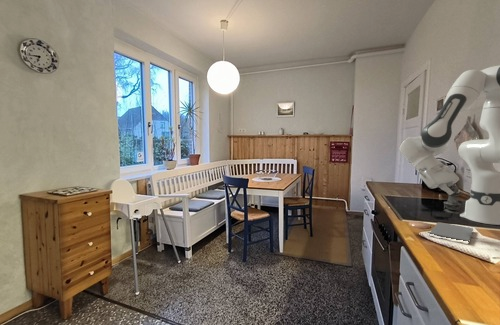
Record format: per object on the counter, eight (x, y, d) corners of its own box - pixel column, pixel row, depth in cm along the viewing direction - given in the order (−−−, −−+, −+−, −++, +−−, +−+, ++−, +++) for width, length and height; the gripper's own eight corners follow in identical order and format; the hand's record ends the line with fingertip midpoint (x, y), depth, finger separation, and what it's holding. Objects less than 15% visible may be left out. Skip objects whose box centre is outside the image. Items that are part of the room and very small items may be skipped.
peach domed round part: (411, 222, 118) (411, 220, 117) (431, 226, 112) (431, 224, 112) (406, 226, 112) (406, 224, 112) (427, 230, 106) (427, 228, 106)
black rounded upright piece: (464, 214, 97) (467, 184, 96) (448, 213, 98) (450, 184, 97) (455, 209, 103) (457, 182, 102) (439, 209, 104) (441, 181, 103)
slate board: (437, 225, 112) (437, 222, 112) (472, 231, 103) (473, 228, 103) (429, 236, 99) (429, 232, 99) (468, 244, 91) (468, 240, 90)
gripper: (422, 164, 100) (449, 191, 92) (446, 161, 110) (473, 186, 102) (410, 173, 104) (435, 200, 96) (434, 170, 114) (459, 194, 106)
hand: (455, 193), depth 99 cm, fingers closed on black rounded upright piece, 4 cm apart
